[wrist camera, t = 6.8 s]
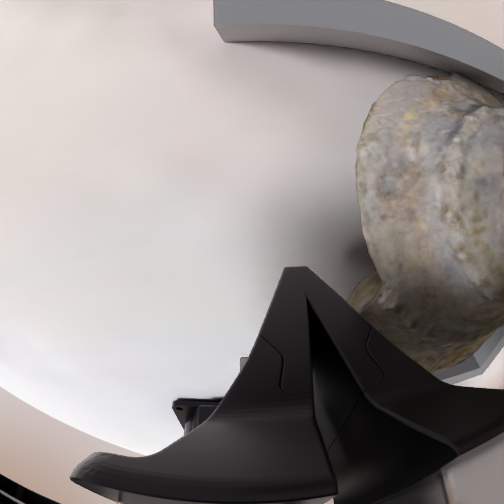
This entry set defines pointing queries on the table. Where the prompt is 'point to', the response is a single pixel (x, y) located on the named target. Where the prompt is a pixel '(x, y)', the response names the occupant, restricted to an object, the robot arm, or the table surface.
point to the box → (380, 41)
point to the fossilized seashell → (433, 217)
